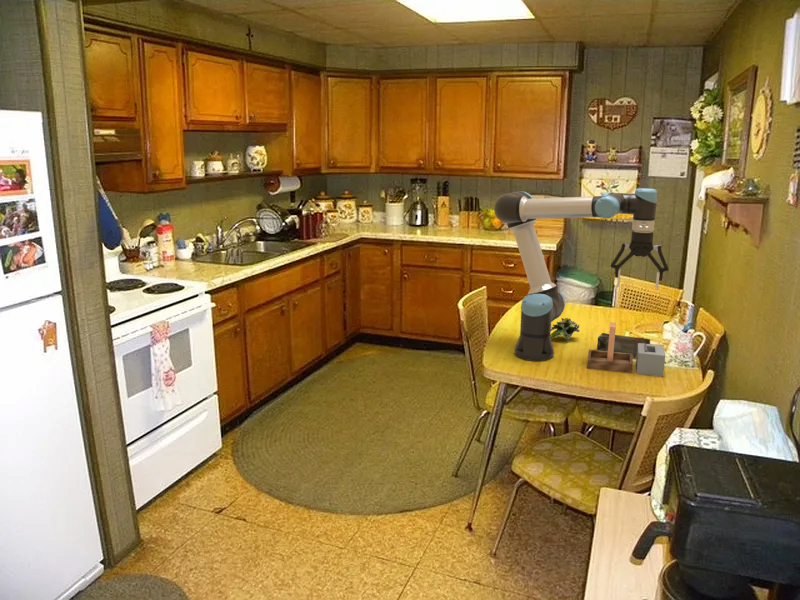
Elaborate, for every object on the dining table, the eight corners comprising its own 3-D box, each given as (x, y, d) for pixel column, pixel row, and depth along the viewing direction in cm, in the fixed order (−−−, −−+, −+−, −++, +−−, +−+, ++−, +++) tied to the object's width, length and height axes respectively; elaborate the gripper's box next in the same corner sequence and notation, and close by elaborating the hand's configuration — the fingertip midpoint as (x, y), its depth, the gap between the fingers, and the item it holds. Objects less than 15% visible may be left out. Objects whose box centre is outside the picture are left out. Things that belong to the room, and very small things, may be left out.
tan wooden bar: (606, 365, 241) (610, 326, 237) (607, 360, 246) (610, 322, 242) (612, 365, 240) (615, 327, 236) (612, 360, 246) (615, 322, 242)
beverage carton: (600, 345, 266) (601, 330, 265) (649, 353, 257) (651, 337, 256) (596, 351, 260) (597, 335, 258) (646, 359, 251) (648, 343, 249)
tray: (586, 368, 240) (587, 359, 239) (588, 357, 251) (588, 349, 250) (632, 373, 235) (633, 364, 235) (631, 362, 246) (632, 353, 246)
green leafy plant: (563, 349, 278) (580, 326, 277) (570, 353, 267) (587, 329, 266) (542, 334, 277) (559, 311, 277) (548, 337, 266) (565, 313, 266)
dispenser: (636, 373, 235) (638, 351, 233) (635, 362, 246) (637, 341, 244) (663, 376, 232) (665, 354, 230) (661, 365, 243) (663, 343, 241)
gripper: (606, 231, 237) (602, 287, 242) (680, 234, 229) (673, 292, 235) (607, 228, 244) (602, 282, 249) (678, 231, 236) (672, 287, 242)
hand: (637, 287), depth 242 cm, fingers open, 13 cm apart
